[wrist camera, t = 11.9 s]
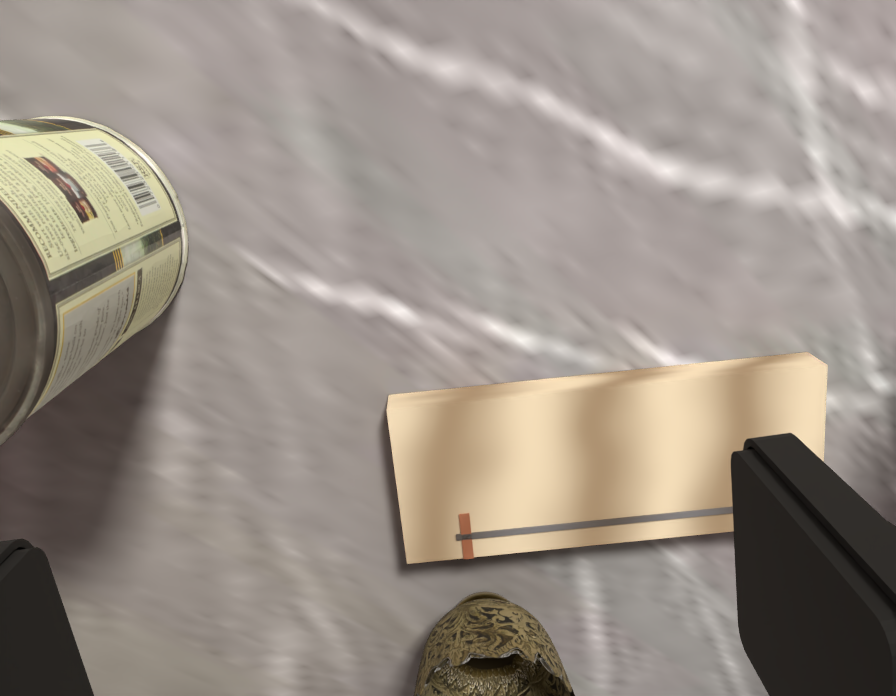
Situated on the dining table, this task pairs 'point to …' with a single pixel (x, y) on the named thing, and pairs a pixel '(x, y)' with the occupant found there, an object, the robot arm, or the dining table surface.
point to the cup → (490, 653)
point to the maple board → (590, 454)
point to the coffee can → (77, 254)
